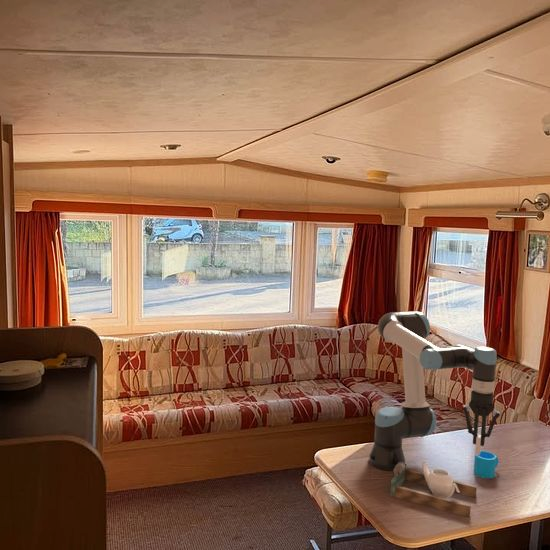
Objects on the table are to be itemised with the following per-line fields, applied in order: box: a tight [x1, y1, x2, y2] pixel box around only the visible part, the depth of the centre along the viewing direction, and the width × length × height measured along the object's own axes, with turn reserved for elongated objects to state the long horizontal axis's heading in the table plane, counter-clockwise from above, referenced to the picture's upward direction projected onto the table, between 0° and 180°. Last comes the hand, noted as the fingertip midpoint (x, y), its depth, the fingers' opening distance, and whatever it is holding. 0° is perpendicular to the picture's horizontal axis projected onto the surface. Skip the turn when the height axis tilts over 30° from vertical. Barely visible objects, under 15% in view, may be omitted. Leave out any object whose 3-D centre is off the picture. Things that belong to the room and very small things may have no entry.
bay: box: [390, 462, 478, 518], centre depth 203 cm, size 29×17×9 cm, turn 62°
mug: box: [473, 450, 499, 479], centre depth 223 cm, size 12×8×8 cm
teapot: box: [421, 461, 460, 499], centre depth 203 cm, size 10×20×9 cm, turn 25°
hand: (477, 453), depth 195 cm, fingers closed
